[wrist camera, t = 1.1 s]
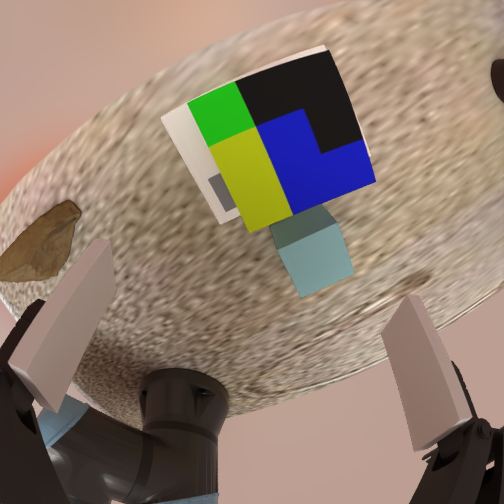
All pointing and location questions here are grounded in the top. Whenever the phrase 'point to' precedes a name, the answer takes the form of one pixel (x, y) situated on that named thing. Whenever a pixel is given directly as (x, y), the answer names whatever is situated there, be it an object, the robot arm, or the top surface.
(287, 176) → the puzzle toy
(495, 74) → the wine bottle
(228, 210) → the letter
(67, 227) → the rock
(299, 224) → the teal cube
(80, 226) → the top surface
